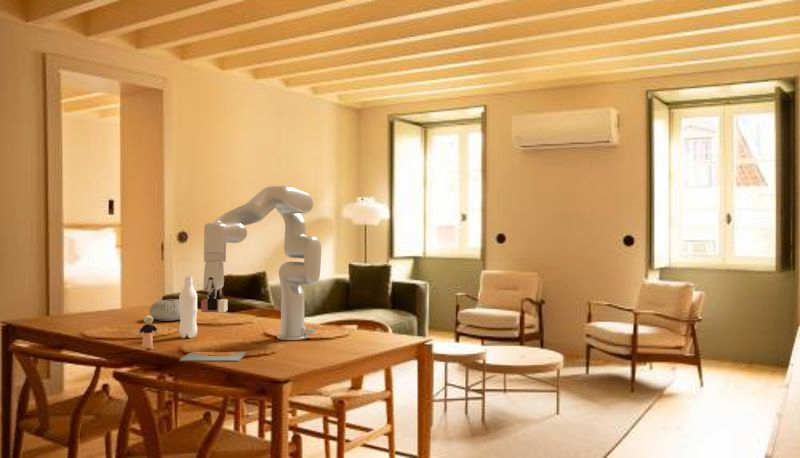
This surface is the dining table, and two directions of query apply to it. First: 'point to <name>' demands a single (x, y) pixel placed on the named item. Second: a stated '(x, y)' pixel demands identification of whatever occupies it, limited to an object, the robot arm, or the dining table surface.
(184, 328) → the water bottle
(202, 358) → the mat
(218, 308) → the card deck
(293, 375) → the dining table surface
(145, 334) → the grandmother figurine
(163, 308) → the grey rounded rock
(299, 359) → the dining table surface
